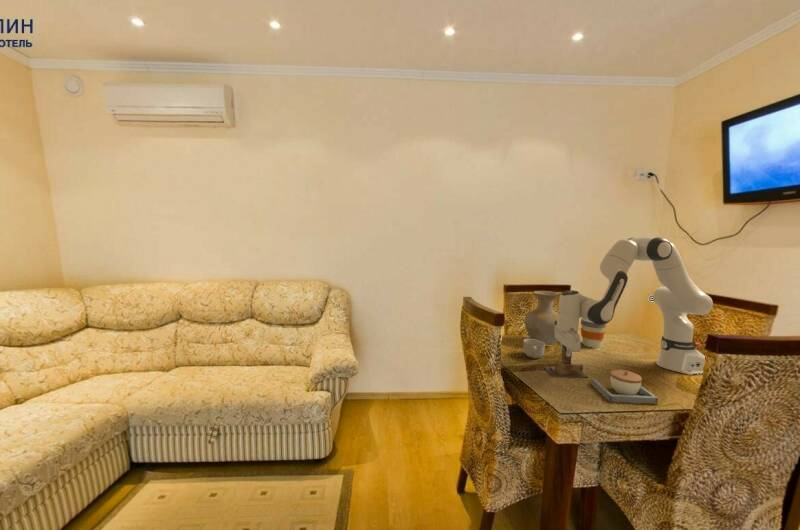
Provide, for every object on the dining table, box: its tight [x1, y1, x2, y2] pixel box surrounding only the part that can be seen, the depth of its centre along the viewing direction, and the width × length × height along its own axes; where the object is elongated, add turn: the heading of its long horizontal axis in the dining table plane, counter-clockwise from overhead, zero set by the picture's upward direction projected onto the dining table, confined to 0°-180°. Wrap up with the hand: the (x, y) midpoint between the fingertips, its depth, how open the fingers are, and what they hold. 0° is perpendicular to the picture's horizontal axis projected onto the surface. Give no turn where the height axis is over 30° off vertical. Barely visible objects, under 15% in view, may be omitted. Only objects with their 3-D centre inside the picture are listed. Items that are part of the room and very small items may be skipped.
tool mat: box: [543, 366, 589, 379], centre depth 156 cm, size 16×10×1 cm, turn 86°
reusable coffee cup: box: [580, 317, 607, 349], centre depth 193 cm, size 13×13×15 cm
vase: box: [523, 290, 559, 346], centre depth 196 cm, size 22×22×30 cm
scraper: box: [549, 346, 584, 375], centre depth 155 cm, size 12×6×12 cm, turn 86°
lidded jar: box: [609, 369, 643, 396], centre depth 136 cm, size 11×11×9 cm
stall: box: [590, 378, 659, 404], centre depth 136 cm, size 17×15×2 cm
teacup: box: [522, 338, 546, 359], centre depth 174 cm, size 14×11×8 cm
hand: (565, 354), depth 155 cm, fingers closed on scraper, 3 cm apart
